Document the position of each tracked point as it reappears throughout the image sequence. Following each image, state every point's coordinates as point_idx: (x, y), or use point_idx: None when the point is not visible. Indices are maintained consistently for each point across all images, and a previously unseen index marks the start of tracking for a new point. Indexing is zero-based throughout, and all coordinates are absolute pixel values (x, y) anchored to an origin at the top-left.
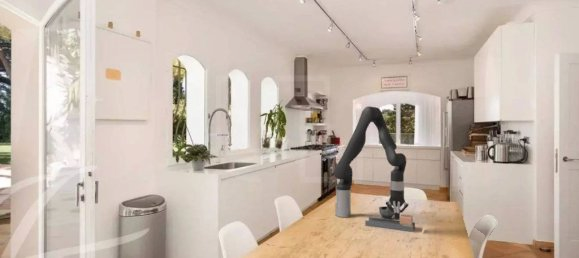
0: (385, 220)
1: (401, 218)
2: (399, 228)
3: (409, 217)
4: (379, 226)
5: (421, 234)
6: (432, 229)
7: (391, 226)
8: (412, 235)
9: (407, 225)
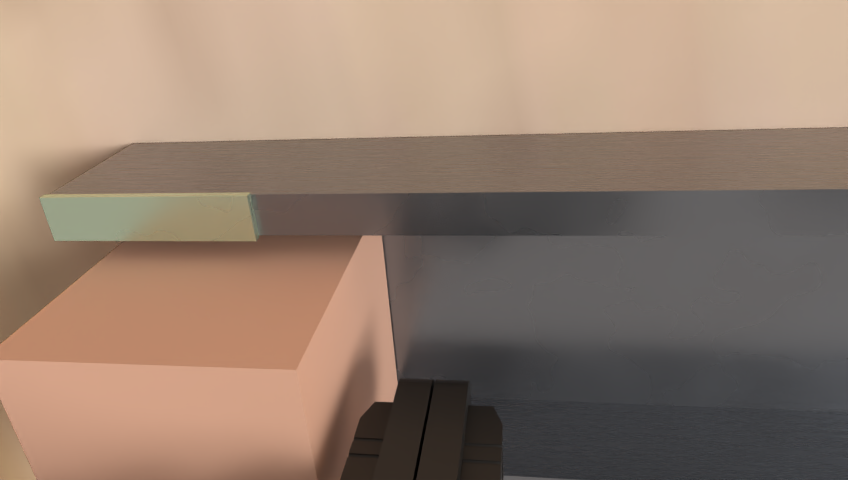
0: (730, 470)
1: (259, 342)
2: (359, 163)
3: (54, 415)
4: (846, 148)
5: (10, 175)
6: (14, 467)
7: (541, 167)
8: (96, 33)
9: (161, 217)
